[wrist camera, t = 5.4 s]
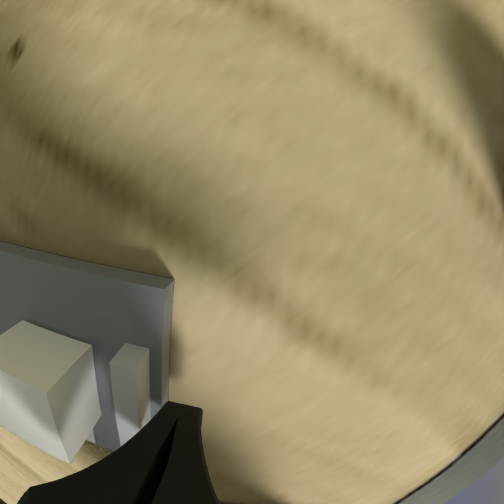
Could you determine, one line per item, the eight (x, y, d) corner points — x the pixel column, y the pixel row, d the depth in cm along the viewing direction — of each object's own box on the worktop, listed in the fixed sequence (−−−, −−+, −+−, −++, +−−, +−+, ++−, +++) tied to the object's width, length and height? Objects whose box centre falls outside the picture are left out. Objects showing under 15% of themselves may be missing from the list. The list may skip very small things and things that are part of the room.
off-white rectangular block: (92, 345, 10) (46, 393, 7) (101, 414, 11) (70, 464, 8) (22, 319, 10) (-27, 353, 7) (37, 387, 11) (1, 425, 8)
